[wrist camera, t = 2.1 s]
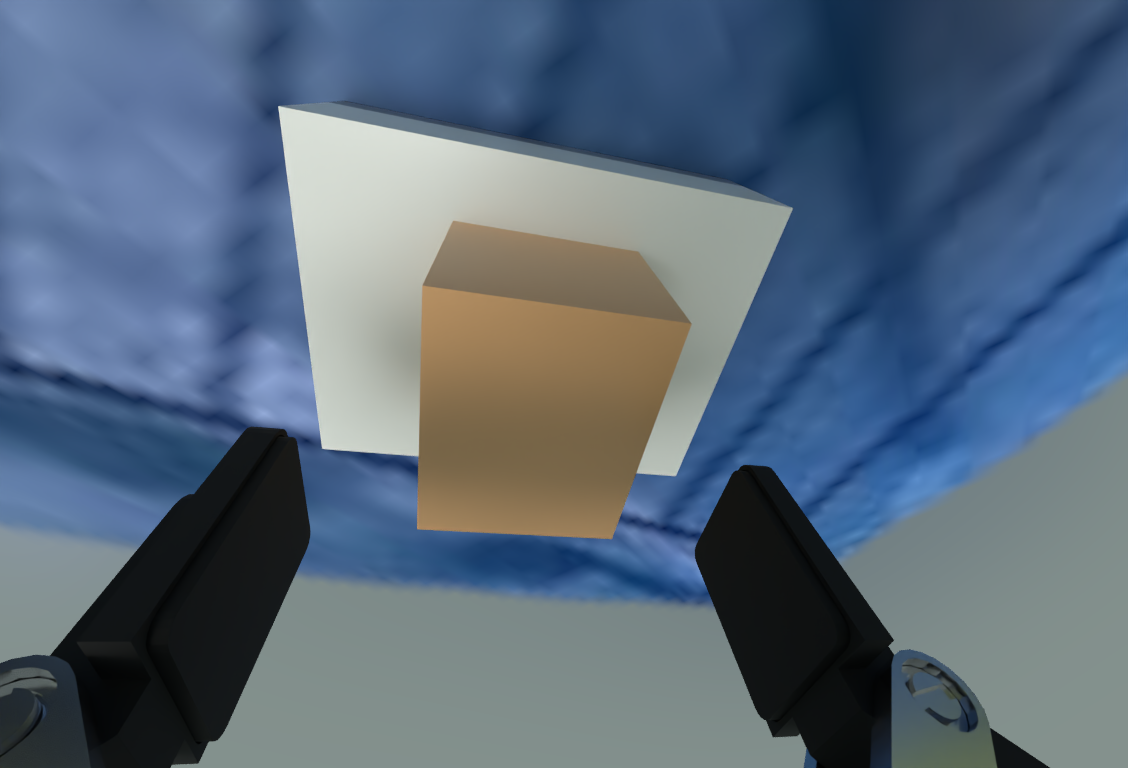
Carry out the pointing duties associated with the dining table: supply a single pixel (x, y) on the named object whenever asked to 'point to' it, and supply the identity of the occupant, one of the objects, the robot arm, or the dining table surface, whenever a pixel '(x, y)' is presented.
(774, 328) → the dining table surface
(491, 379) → the plug
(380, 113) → the socket block
